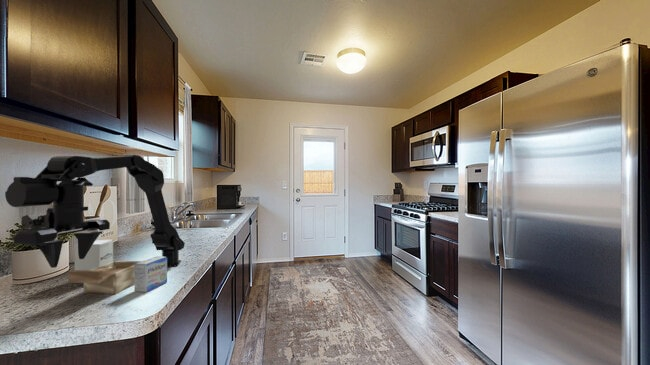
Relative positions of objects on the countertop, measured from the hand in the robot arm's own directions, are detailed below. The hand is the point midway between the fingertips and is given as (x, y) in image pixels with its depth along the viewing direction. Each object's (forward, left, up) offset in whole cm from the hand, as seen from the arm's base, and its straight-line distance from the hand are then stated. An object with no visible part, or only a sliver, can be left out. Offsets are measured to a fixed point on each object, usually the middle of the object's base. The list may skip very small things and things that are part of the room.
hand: (68, 262), depth 65 cm
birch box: (-14, +5, -12) cm, 19 cm away
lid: (-8, +3, -7) cm, 11 cm away
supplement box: (-24, -5, -12) cm, 27 cm away
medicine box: (-9, +16, -12) cm, 22 cm away
